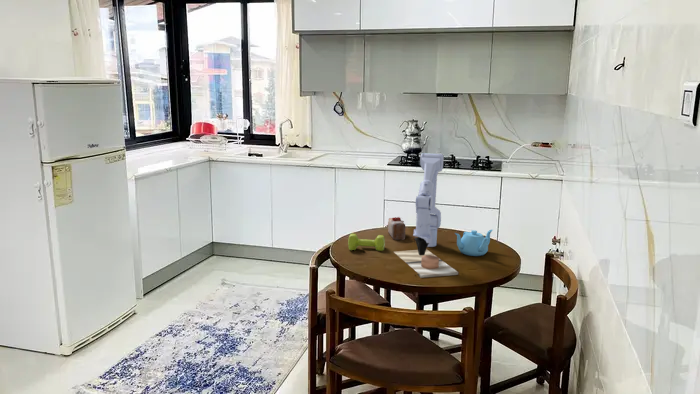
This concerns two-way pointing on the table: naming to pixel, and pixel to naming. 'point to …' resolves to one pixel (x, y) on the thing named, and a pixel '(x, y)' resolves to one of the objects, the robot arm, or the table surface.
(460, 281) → the table surface
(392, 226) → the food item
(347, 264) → the table surface
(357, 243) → the dumbbell
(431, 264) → the puck
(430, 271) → the board
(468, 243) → the teapot
